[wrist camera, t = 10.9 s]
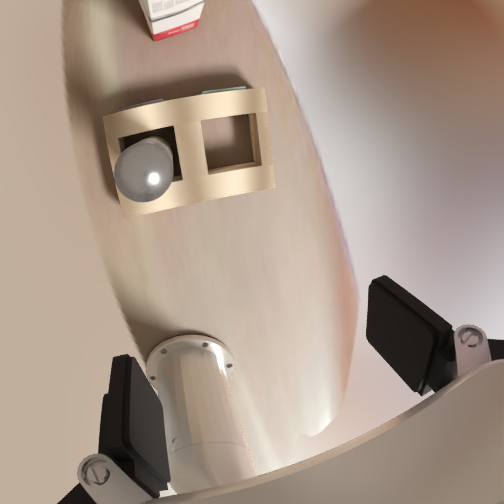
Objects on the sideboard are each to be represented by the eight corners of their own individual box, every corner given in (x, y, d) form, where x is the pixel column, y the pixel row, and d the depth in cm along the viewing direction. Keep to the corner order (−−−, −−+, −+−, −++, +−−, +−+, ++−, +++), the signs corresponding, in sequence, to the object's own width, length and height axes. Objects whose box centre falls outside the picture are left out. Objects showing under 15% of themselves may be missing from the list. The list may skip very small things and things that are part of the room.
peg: (163, 180, 29) (159, 210, 19) (127, 167, 27) (105, 190, 18) (179, 144, 28) (183, 155, 18) (143, 130, 26) (127, 133, 17)
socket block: (255, 87, 27) (263, 84, 25) (266, 181, 32) (275, 187, 29) (108, 114, 25) (101, 113, 22) (128, 210, 29) (124, 219, 27)
